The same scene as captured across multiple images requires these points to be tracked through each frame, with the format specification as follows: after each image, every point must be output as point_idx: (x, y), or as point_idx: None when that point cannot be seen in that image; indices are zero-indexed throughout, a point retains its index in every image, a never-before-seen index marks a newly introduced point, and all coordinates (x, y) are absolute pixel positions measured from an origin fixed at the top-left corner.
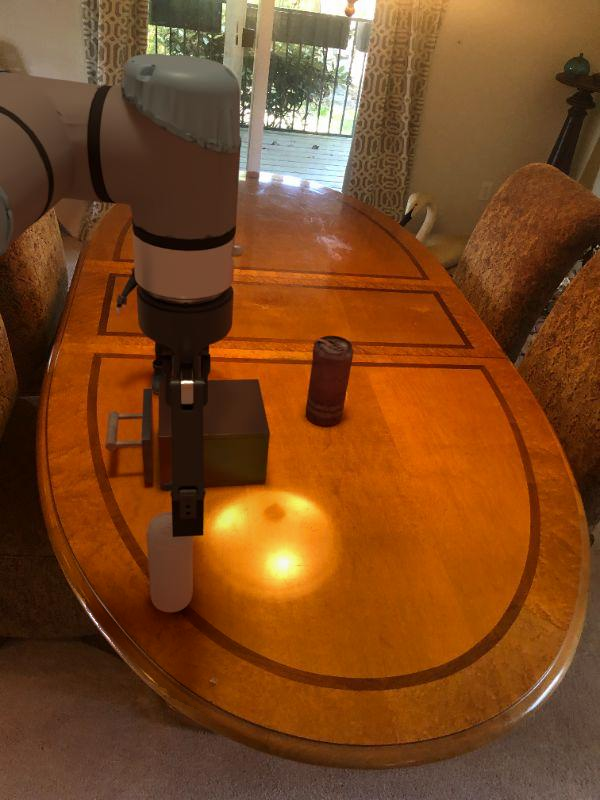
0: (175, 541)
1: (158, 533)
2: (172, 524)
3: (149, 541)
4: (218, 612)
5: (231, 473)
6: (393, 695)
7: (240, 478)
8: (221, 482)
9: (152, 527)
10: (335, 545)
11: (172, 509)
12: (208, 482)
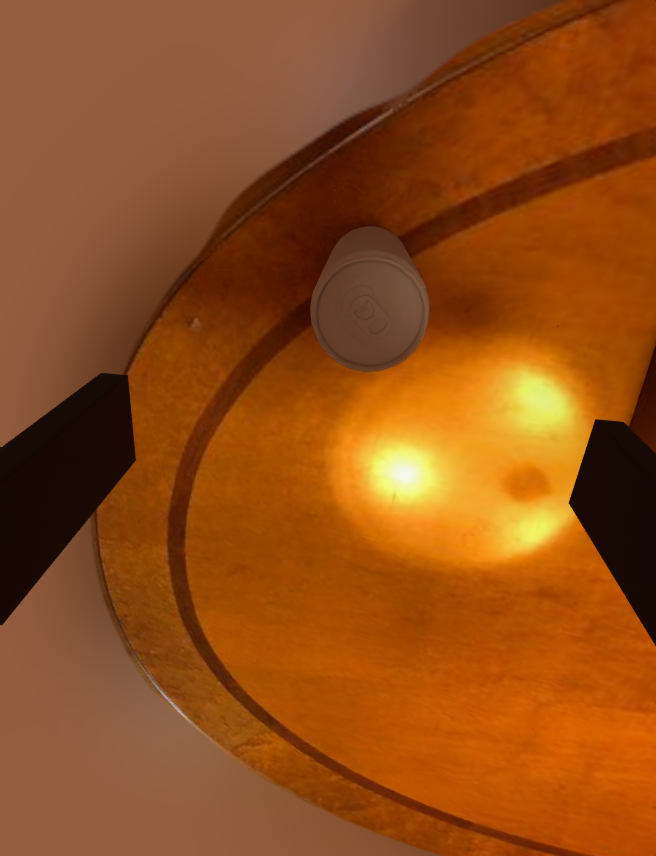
0: (323, 327)
1: (357, 285)
2: (73, 395)
3: (343, 257)
4: (321, 349)
5: (649, 436)
6: (159, 554)
7: None
8: (644, 404)
9: (380, 270)
10: (422, 559)
11: (27, 429)
12: (654, 378)
